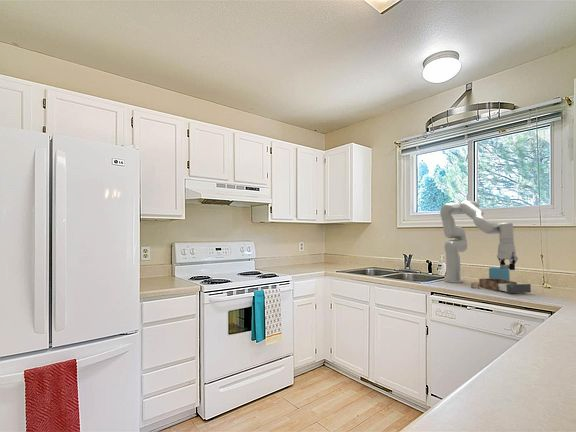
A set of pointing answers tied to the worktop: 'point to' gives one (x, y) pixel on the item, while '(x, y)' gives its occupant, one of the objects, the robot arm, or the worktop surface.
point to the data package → (499, 273)
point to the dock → (493, 283)
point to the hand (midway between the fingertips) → (507, 269)
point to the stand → (474, 285)
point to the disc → (505, 266)
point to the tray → (515, 288)
